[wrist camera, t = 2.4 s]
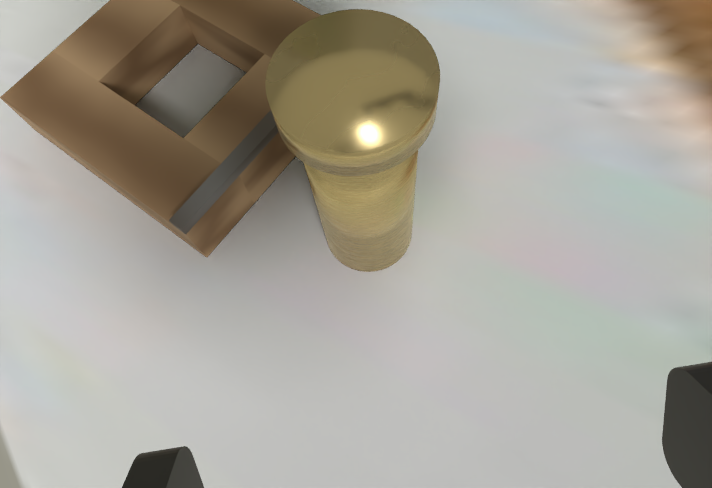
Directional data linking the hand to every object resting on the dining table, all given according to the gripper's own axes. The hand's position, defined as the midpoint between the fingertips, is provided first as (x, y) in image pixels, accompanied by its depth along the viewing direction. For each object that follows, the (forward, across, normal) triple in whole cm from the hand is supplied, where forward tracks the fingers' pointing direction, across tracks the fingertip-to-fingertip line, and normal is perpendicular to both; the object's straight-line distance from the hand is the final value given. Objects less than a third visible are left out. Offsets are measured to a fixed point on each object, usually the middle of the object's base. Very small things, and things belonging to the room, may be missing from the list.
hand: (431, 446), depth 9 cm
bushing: (+19, 0, +3) cm, 19 cm away
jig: (+26, +8, -4) cm, 27 cm away
